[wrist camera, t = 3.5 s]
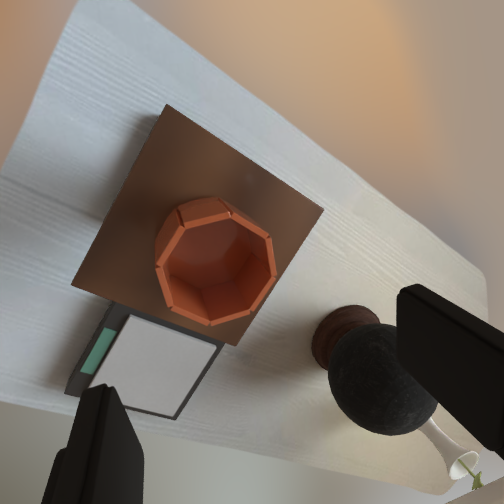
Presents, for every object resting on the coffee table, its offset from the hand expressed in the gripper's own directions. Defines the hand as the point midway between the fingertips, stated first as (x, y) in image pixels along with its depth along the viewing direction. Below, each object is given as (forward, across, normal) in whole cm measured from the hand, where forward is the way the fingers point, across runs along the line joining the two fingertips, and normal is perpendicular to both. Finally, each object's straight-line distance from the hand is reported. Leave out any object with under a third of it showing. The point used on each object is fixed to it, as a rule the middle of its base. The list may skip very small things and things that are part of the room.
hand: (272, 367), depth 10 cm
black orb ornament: (+28, -18, +26) cm, 42 cm away
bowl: (+12, 0, 0) cm, 12 cm away
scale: (+28, +10, +18) cm, 35 cm away
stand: (+28, 0, 0) cm, 28 cm away
